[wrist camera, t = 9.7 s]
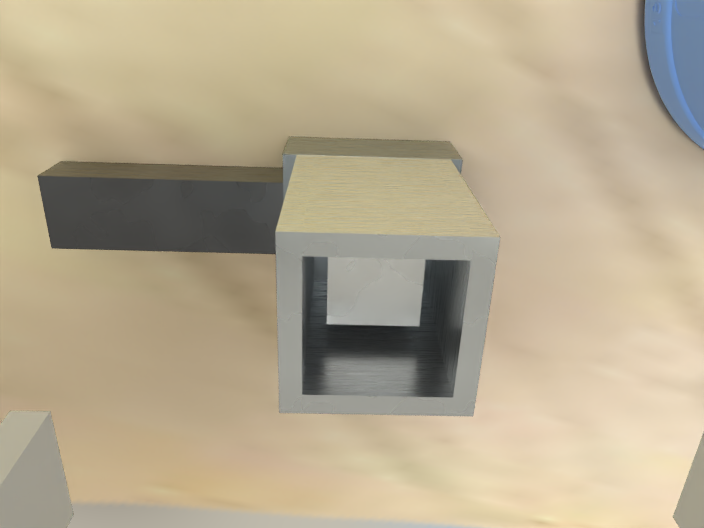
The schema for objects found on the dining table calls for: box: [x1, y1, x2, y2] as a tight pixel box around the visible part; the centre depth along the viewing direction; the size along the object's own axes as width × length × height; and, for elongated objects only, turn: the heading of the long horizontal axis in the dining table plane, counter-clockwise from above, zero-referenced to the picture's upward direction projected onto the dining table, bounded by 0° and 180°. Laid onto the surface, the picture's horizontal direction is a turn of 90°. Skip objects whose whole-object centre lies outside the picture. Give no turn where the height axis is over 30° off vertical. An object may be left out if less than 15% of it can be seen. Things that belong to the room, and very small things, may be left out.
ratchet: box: [38, 137, 462, 326], centre depth 23 cm, size 17×6×8 cm, turn 88°
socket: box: [275, 155, 500, 416], centre depth 21 cm, size 6×6×8 cm
